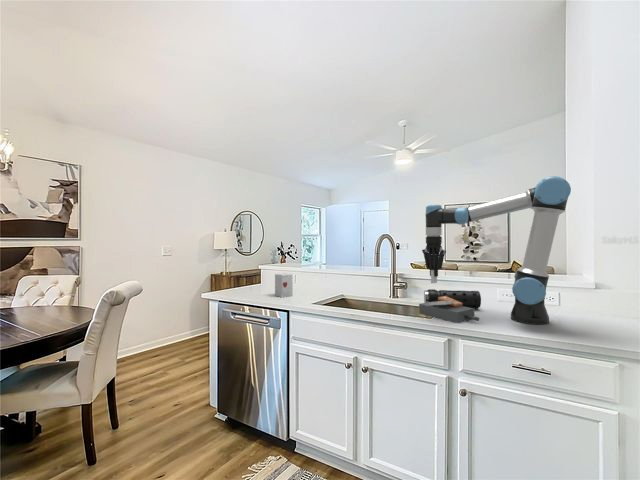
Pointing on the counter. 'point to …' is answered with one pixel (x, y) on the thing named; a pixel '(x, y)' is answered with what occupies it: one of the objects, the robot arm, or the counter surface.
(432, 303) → the light grey flat plate
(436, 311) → the switch module
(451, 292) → the muzzle brake
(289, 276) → the supplement box
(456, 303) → the orange slotted plate
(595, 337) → the counter surface
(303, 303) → the counter surface
